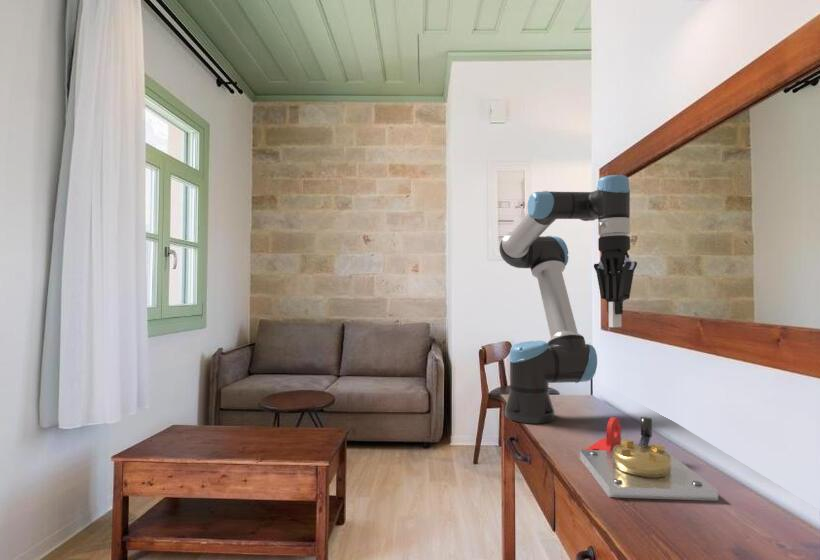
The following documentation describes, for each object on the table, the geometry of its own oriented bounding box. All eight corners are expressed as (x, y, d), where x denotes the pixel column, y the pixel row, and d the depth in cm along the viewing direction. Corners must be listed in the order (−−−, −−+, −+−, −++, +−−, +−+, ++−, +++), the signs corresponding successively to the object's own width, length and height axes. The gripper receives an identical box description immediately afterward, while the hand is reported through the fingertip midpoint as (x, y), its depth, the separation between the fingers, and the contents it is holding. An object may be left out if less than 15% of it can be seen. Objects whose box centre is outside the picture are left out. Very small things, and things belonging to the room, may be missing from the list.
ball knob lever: (669, 481, 89) (669, 446, 89) (609, 470, 95) (608, 436, 95) (673, 450, 106) (672, 420, 106) (621, 442, 112) (621, 413, 112)
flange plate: (579, 458, 108) (579, 448, 108) (667, 460, 106) (667, 450, 106) (609, 497, 88) (609, 485, 88) (718, 500, 86) (717, 488, 86)
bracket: (602, 442, 119) (602, 412, 119) (620, 446, 116) (620, 415, 116) (584, 454, 110) (584, 422, 110) (603, 459, 107) (602, 426, 107)
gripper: (585, 238, 123) (586, 325, 122) (620, 232, 110) (622, 329, 110) (607, 238, 125) (609, 324, 124) (645, 233, 112) (646, 328, 112)
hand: (615, 326), depth 117 cm, fingers closed
